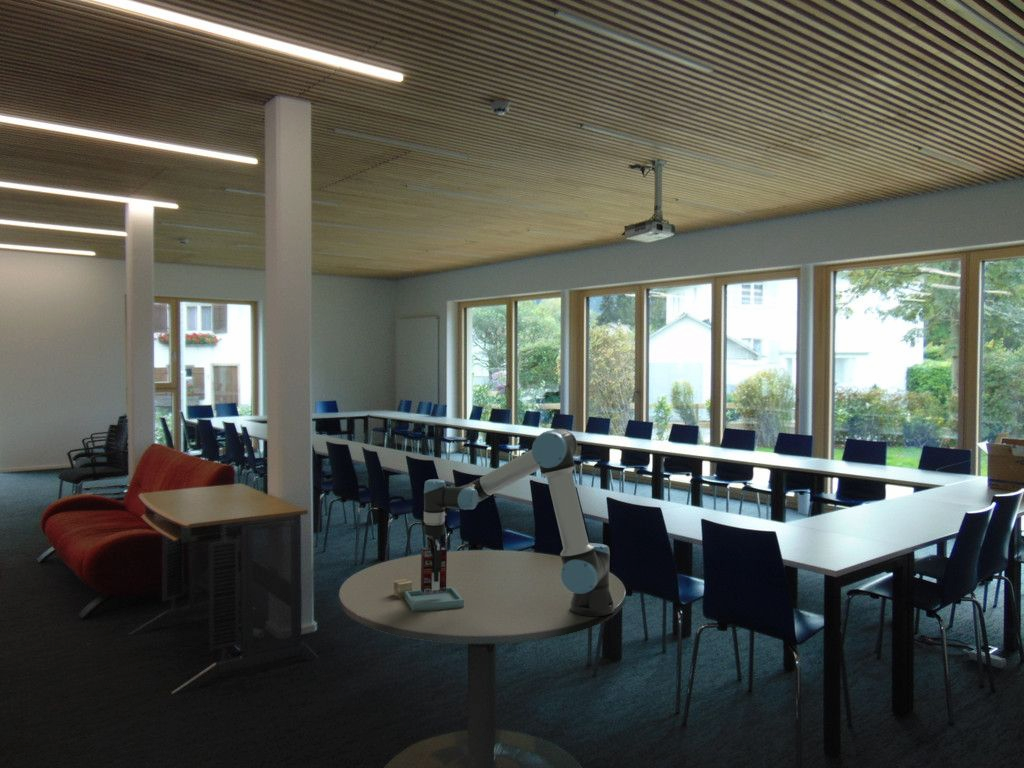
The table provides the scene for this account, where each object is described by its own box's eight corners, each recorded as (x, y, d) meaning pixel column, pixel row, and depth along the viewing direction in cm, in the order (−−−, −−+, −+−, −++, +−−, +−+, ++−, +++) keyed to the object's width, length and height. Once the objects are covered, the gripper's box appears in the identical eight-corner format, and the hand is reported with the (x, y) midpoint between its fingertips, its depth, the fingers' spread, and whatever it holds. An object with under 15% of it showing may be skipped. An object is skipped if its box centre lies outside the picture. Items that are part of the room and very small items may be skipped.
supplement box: (423, 595, 264) (423, 550, 264) (420, 591, 269) (420, 547, 268) (447, 593, 267) (447, 549, 266) (444, 589, 271) (444, 546, 271)
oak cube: (411, 595, 276) (411, 582, 275) (399, 598, 273) (399, 584, 273) (405, 592, 280) (405, 579, 280) (393, 594, 277) (393, 581, 277)
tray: (463, 606, 263) (463, 599, 263) (413, 611, 257) (413, 604, 257) (452, 593, 278) (452, 586, 278) (404, 598, 272) (404, 591, 272)
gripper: (450, 527, 260) (450, 594, 260) (438, 517, 277) (438, 580, 277) (429, 528, 257) (428, 596, 258) (418, 518, 274) (418, 581, 275)
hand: (433, 587), depth 268 cm, fingers closed on supplement box, 5 cm apart
